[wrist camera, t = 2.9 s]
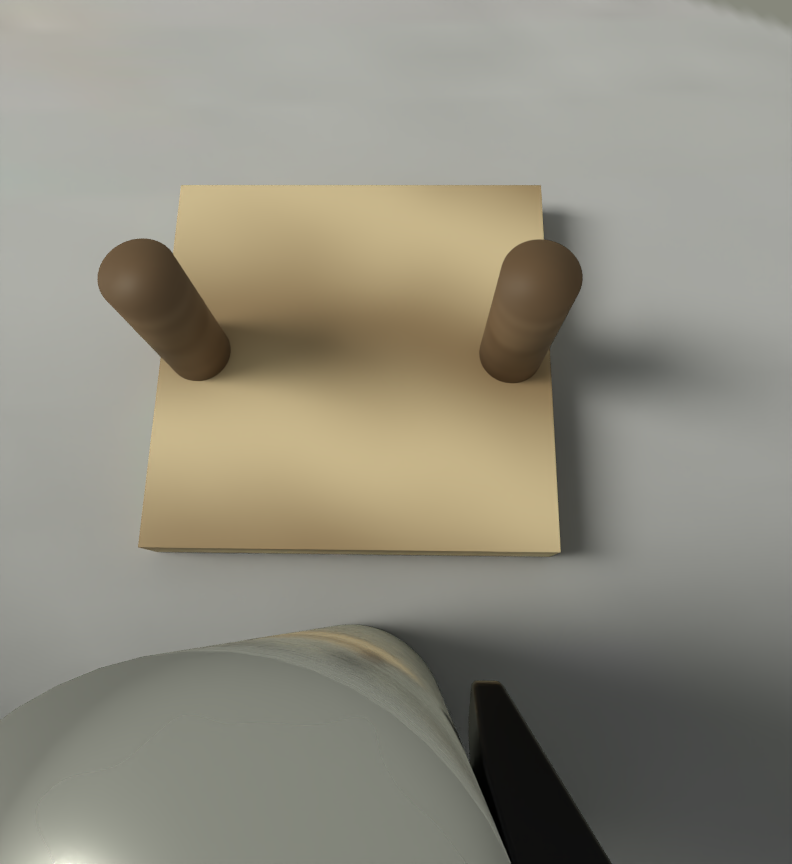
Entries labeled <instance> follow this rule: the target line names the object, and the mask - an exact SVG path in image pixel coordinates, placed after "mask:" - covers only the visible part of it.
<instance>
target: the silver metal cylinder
mask: <svg viewBox="0 0 792 864" xmlns="http://www.w3.org/2000/svg"><path fill="white" fill-rule="evenodd" d="M0 864H511V862H510V860H509V857H508V855H507V852H506V850H505V848H504V845H503V843H502V840H501V838H500V835H499V833H498V831H497V828H496V826H495V823H494V821H493V819H492V816H491V814H490V811H489V809H488V806H487V804H486V802H485V799H484V797H483V794H482V792H481V790H480V787H479V785H478V782H477V780H476V778H475V775H474V773H473V770H472V768H471V765H470V763H469V761H468V758H467V756H466V753H465V751H464V749H463V746H462V744H461V741H460V739H459V736H458V734H457V732H456V729H455V727H454V724H453V722H452V720H451V717H450V715H449V712H448V710H447V707H446V705H445V703H444V700H443V698H442V695H441V693H440V691H439V688H438V686H437V683H436V681H435V679H434V677H433V675H432V674H431V672H430V670H429V668H428V667H427V666H426V664H425V663H424V661H423V660H422V659H421V658H420V656H419V655H418V654H417V653H416V652H415V651H414V650H413V649H412V648H411V647H409V646H408V645H407V644H406V643H404V642H403V641H402V640H400V639H398V638H397V637H395V636H394V635H392V634H389V633H387V632H385V631H383V630H380V629H377V628H373V627H370V626H363V625H338V626H331V627H324V628H318V629H312V630H306V631H300V632H293V633H287V634H281V635H275V636H268V637H262V638H256V639H250V640H244V641H237V642H231V643H225V644H219V645H212V646H206V647H200V648H194V649H188V650H181V651H175V652H169V653H163V654H156V655H150V656H144V657H140V658H136V659H132V660H128V661H125V662H121V663H117V664H113V665H110V666H106V667H102V668H99V669H96V670H94V671H92V672H89V673H87V674H84V675H82V676H79V677H77V678H74V679H72V680H70V681H67V682H65V683H62V684H60V685H57V686H56V687H54V688H52V689H50V690H48V691H47V692H45V693H43V694H41V695H40V696H38V697H36V698H34V699H32V700H31V701H29V702H27V703H25V704H24V705H22V706H20V707H18V708H16V709H15V710H14V711H12V712H11V713H10V714H8V715H7V716H5V717H4V718H3V719H1V720H0Z"/></svg>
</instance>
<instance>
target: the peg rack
mask: <svg viewBox="0 0 792 864" xmlns="http://www.w3.org/2000/svg"><path fill="white" fill-rule="evenodd" d="M98 286H99V289H100V292H101V294H102V295H103V297H104V298H105V299H106V300H107V302H108V303H109V304H110V305H111V306H112V307H113V308H114V309H115V310H116V311H117V312H118V313H119V314H120V315H121V316H122V317H123V318H124V319H125V320H126V321H127V322H128V323H129V324H130V325H131V326H132V327H133V329H134V330H135V331H136V332H137V333H138V334H139V335H140V336H141V337H142V338H143V339H144V340H145V341H146V342H147V343H148V344H149V345H150V346H151V347H152V348H153V349H154V350H155V351H156V352H157V353H158V354H159V356H160V357H161V359H160V368H159V376H158V384H157V393H156V401H155V410H154V418H153V426H152V435H151V443H150V452H149V460H148V468H147V477H146V485H145V494H144V502H143V510H142V519H141V527H140V536H139V544H138V547H139V548H143V549H147V550H151V551H156V552H211V553H293V554H374V555H456V556H538V557H550V556H553V555H555V554H558V553H560V552H561V550H560V531H559V513H558V494H557V476H556V457H555V438H554V420H553V401H552V383H551V364H550V346H551V344H552V342H553V340H554V339H555V337H556V335H557V333H558V331H559V329H560V327H561V325H562V324H563V322H564V320H565V318H566V316H567V314H568V312H569V310H570V308H571V307H572V305H573V303H574V301H575V299H576V297H577V295H578V293H579V291H580V289H581V286H582V270H581V266H580V264H579V262H578V260H577V258H576V257H575V256H574V255H573V253H572V252H571V251H570V250H568V249H567V248H566V247H564V246H562V245H561V244H559V243H556V242H553V241H550V240H544V234H543V215H542V197H541V185H181V191H180V200H179V208H178V216H177V225H176V233H175V242H174V250H173V253H172V252H171V251H170V249H169V248H167V247H166V246H165V245H163V244H162V243H160V242H158V241H155V240H151V239H134V240H130V241H126V242H124V243H122V244H120V245H118V246H117V247H115V248H114V249H112V250H111V251H110V252H109V253H108V254H107V255H106V257H105V258H104V260H103V261H102V263H101V265H100V268H99V272H98Z"/></svg>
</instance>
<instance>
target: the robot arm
mask: <svg viewBox="0 0 792 864" xmlns="http://www.w3.org/2000/svg"><path fill="white" fill-rule="evenodd" d="M469 751H470V765H471V768H472V770H473V773H474V775H475V778H476V780H477V782H478V785H479V787H480V790H481V792H482V794H483V797H484V799H485V802H486V804H487V806H488V809H489V811H490V814H491V816H492V819H493V821H494V823H495V826H496V828H497V831H498V833H499V835H500V838H501V840H502V843H503V845H504V848H505V850H506V852H507V855H508V857H509V860H510V862H511V864H612V863H611V862H610V860H609V858H608V857H607V855H606V853H605V852H604V850H603V848H602V847H601V845H600V844H599V842H598V840H597V839H596V837H595V835H594V834H593V832H592V830H591V829H590V827H589V825H588V824H587V822H586V821H585V819H584V817H583V816H582V814H581V812H580V811H579V809H578V807H577V806H576V804H575V802H574V801H573V799H572V798H571V796H570V794H569V793H568V791H567V789H566V788H565V786H564V784H563V783H562V781H561V780H560V778H559V776H558V775H557V773H556V771H555V770H554V768H553V766H552V765H551V763H550V761H549V760H548V758H547V757H546V755H545V753H544V752H543V750H542V748H541V747H540V745H539V743H538V742H537V740H536V738H535V737H534V735H533V734H532V732H531V730H530V729H529V727H528V725H527V724H526V722H525V720H524V719H523V717H522V716H521V714H520V712H519V711H518V709H517V707H516V706H515V704H514V702H513V701H512V699H511V697H510V696H509V694H508V693H507V691H506V689H505V688H504V686H503V685H502V684H501V683H500V682H498V681H474V682H473V683H472V686H471V696H470V708H469Z"/></svg>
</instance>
